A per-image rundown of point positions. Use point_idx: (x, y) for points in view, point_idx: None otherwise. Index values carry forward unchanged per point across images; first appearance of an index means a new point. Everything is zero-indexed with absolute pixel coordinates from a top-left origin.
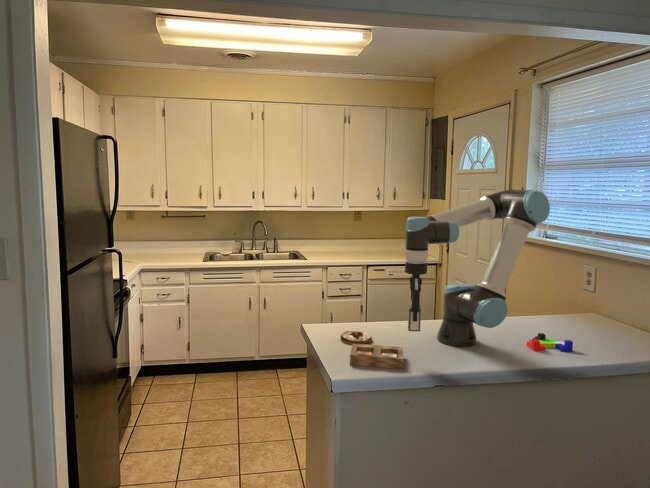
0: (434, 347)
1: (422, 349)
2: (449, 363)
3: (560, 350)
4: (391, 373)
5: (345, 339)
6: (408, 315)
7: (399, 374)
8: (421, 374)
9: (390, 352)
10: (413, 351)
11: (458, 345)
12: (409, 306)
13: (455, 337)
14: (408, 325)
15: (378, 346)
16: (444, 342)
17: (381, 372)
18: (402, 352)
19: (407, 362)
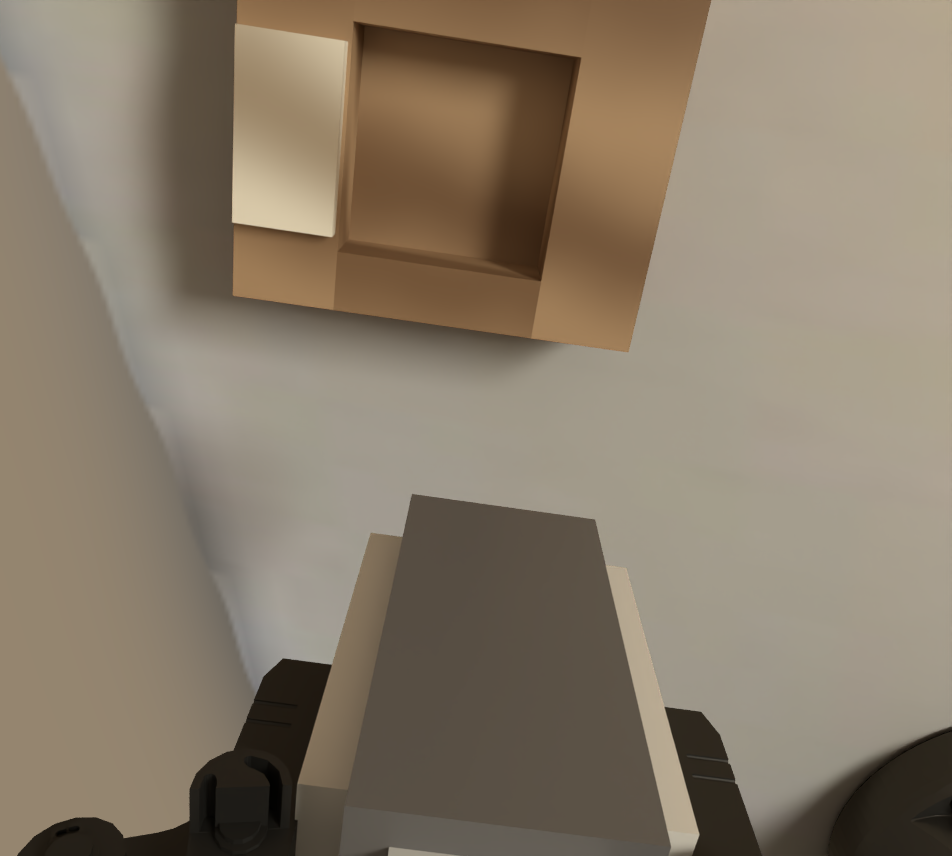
0: (849, 649)
1: (807, 544)
2: None
3: None
4: (120, 129)
5: None
6: (576, 655)
7: (114, 211)
8: (165, 415)
9: (555, 186)
10: (758, 454)
11: (841, 824)
12: (572, 847)
13: None
14: (413, 541)
15: (659, 29)
16: (929, 750)
17: (121, 14)
18: (446, 319)
19: (449, 344)
